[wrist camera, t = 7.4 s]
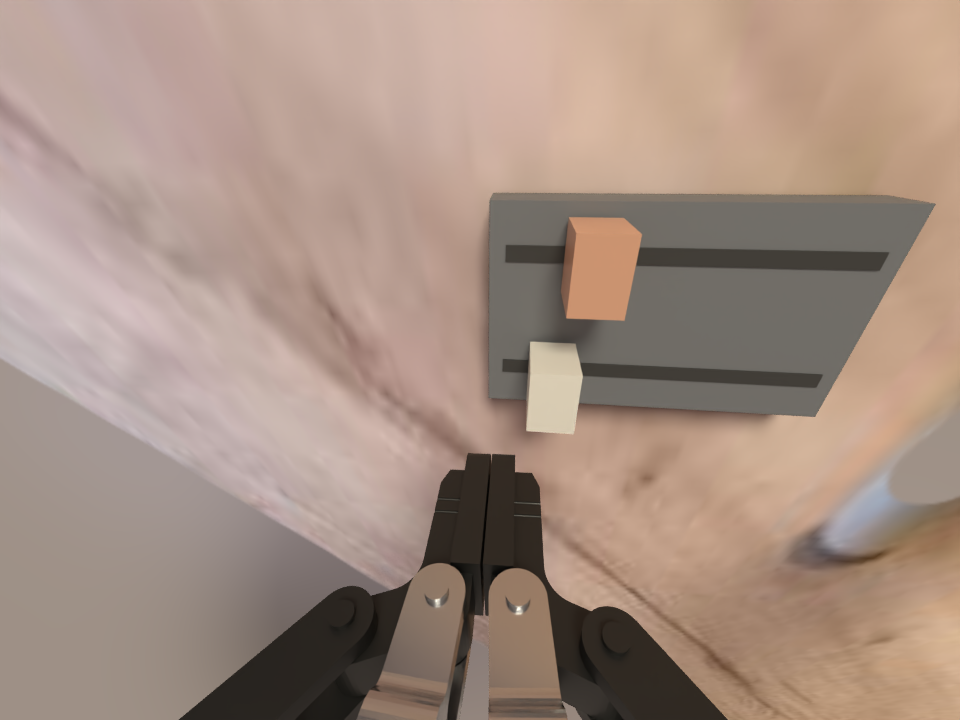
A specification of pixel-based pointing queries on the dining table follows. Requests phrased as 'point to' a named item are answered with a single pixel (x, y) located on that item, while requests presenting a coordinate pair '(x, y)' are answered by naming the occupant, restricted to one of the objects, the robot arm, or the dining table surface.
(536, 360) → the cream fader
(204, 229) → the dining table surface
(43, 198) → the dining table surface
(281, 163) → the dining table surface
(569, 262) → the terracotta fader
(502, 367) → the fader console
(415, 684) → the robot arm
